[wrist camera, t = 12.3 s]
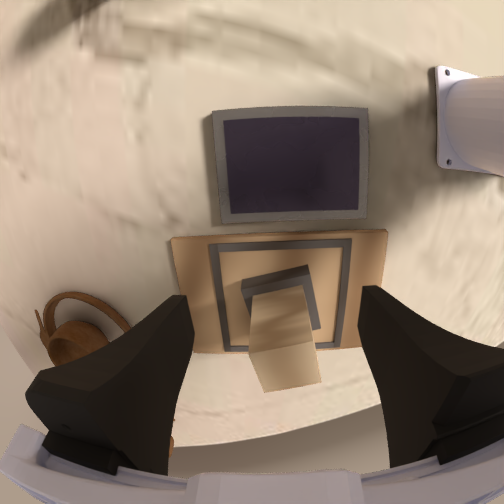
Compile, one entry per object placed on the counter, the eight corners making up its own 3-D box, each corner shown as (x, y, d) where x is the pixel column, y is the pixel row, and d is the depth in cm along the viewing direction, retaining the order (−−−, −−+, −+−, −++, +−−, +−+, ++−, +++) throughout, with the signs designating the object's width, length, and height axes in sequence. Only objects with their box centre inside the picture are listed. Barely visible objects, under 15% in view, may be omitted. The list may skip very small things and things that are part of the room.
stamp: (307, 264, 22) (324, 328, 15) (318, 317, 24) (333, 386, 17) (242, 279, 22) (232, 346, 16) (259, 329, 24) (256, 400, 18)
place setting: (166, 296, 25) (143, 340, 20) (187, 423, 33) (179, 460, 28) (24, 277, 25) (-8, 305, 20) (73, 397, 34) (58, 426, 28)
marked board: (385, 229, 21) (389, 233, 20) (367, 341, 25) (369, 347, 25) (172, 237, 22) (169, 241, 21) (195, 348, 26) (193, 354, 26)
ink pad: (363, 108, 18) (368, 108, 16) (362, 214, 21) (367, 219, 20) (214, 111, 18) (211, 110, 17) (223, 219, 21) (221, 224, 20)
